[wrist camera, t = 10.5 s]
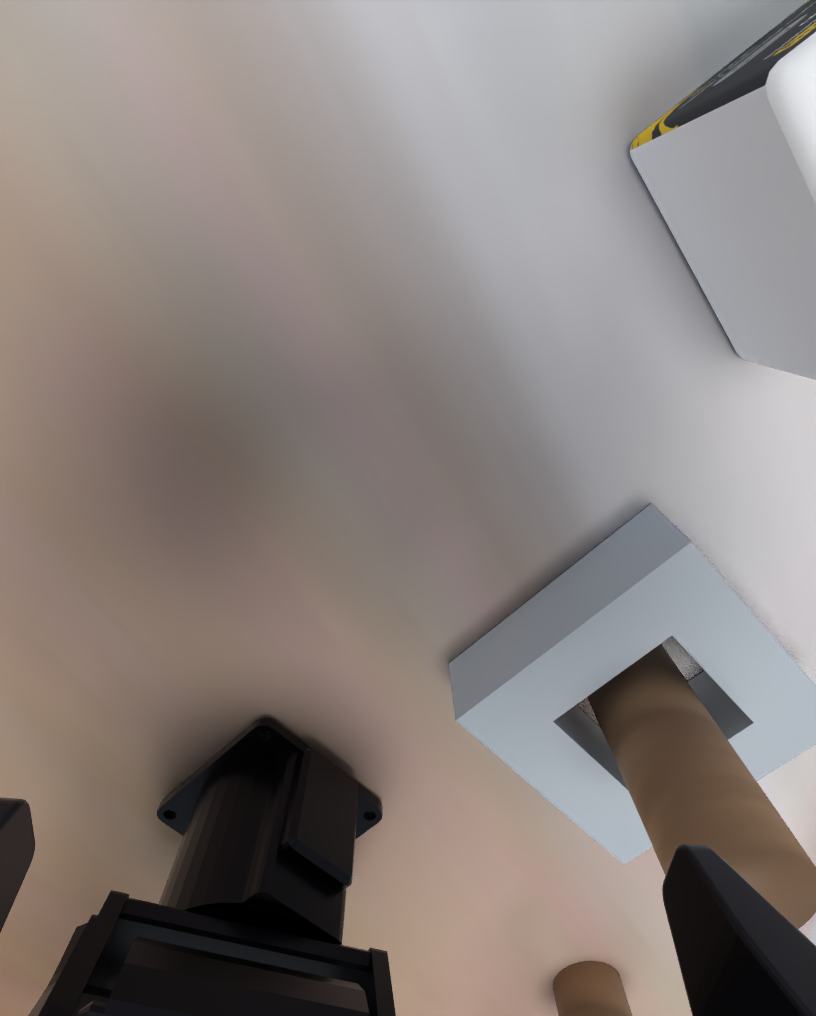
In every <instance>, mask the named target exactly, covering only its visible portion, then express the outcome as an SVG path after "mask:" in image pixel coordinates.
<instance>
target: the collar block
mask: <svg viewBox="0 0 816 1016" xmlns="http://www.w3.org/2000/svg"><path fill="white" fill-rule="evenodd" d="M671 636H673V637H674V638H675V639H676V640H677V641H678V642H679V643H680V644H681V646H682V647H683V648H684V649H685V650H686V651H687V652H688V653H689V654H690V655H691V656H692V657H693V658H694V659H695V660H696V662H697V663H698V664H699V665H700V666H701V667H702V668H703V669H704V671H703V672H701V673H700V674H698V675H697V676H695V677H694V678H693V679H691V680H690V681H688V683H689V685H690V686H691V688H692V689H693V691H694V692H695V694H696V695H697V696H698V698H699V699H700V701H701V702H702V704H703V705H704V707H705V708H706V709H707V711H708V712H709V714H710V715H711V717H712V718H713V720H714V721H715V722H716V724H717V725H718V727H719V728H720V730H721V731H722V732H723V734H724V735H725V737H726V738H727V740H728V741H729V743H730V744H731V745H732V747H733V748H734V750H735V751H736V753H737V754H738V756H739V757H740V758H741V760H742V761H743V763H744V764H745V766H746V767H747V769H748V770H749V771H750V773H751V774H752V776H753V777H754V779H755V780H756V781H758V780H760V779H761V778H763V777H764V776H766V775H768V774H769V773H771V772H772V771H774V770H776V769H777V768H779V767H780V766H782V765H784V764H785V763H787V762H788V761H790V760H792V759H793V758H795V757H796V756H798V755H800V754H801V753H803V752H804V751H806V750H808V749H809V748H811V747H812V746H814V745H816V685H815V684H814V683H813V681H812V680H811V679H810V678H809V677H808V676H807V674H806V673H805V672H804V671H803V670H802V669H801V667H800V666H799V665H798V664H797V663H796V662H795V661H794V659H793V658H792V657H791V656H790V655H789V654H788V652H787V651H786V650H785V649H784V648H783V647H782V645H781V644H780V643H779V642H778V641H777V640H776V638H775V637H774V636H773V635H772V634H771V633H770V632H769V630H768V629H767V628H766V627H765V626H764V625H763V623H762V622H761V621H760V620H759V619H758V618H757V616H756V615H755V614H754V613H753V612H752V611H751V609H750V608H749V607H748V606H747V605H746V604H745V602H744V601H743V600H742V599H741V598H740V597H739V596H738V594H737V593H736V592H735V591H734V590H733V589H732V587H731V586H730V585H729V584H728V583H727V582H726V580H725V579H724V578H723V577H722V576H721V575H720V573H719V572H718V571H717V570H716V569H715V568H714V567H713V565H712V564H711V563H710V562H709V561H708V560H707V558H706V557H705V556H704V555H703V554H702V553H701V551H700V550H699V549H698V548H697V547H696V546H695V544H694V543H693V542H692V541H691V540H690V539H689V538H688V537H687V536H686V535H685V534H683V533H682V532H681V531H680V530H679V529H678V528H677V527H676V526H675V525H674V524H673V523H672V522H671V521H670V520H669V519H668V518H667V517H665V516H664V515H663V514H662V513H661V512H660V511H659V510H658V509H657V508H656V507H655V506H654V505H653V504H652V503H651V504H650V505H648V506H647V507H646V508H645V509H643V510H642V511H641V512H640V513H638V514H637V515H636V516H635V517H633V518H632V519H631V520H630V521H628V522H627V523H626V524H624V525H623V526H622V527H621V528H619V529H618V530H617V531H616V532H614V533H613V534H612V535H611V536H609V537H608V538H607V539H606V540H604V541H603V542H602V543H600V544H599V545H598V546H597V547H595V548H594V549H593V550H592V551H590V552H589V553H588V554H587V555H585V556H584V557H583V558H582V559H580V560H579V561H578V562H576V563H575V564H574V565H573V566H571V567H570V568H569V569H568V570H566V571H565V572H564V573H563V574H561V575H560V576H559V577H558V578H556V579H555V580H554V581H552V582H551V583H550V584H549V585H547V586H546V587H545V588H544V589H542V590H541V591H540V592H539V593H537V594H536V595H535V596H534V597H532V598H531V599H530V600H528V601H527V602H526V603H525V604H523V605H522V606H521V607H520V608H518V609H517V610H516V611H515V612H513V613H512V614H511V615H510V616H508V617H507V618H506V619H504V620H503V621H502V622H501V623H499V624H498V625H497V626H496V627H494V628H493V629H492V630H491V631H489V632H488V633H487V634H486V635H484V636H483V637H482V638H480V639H479V640H478V641H477V642H475V643H474V644H473V645H472V646H470V647H469V648H468V649H467V650H465V651H464V652H463V653H462V654H460V655H459V656H458V657H456V658H455V659H454V660H453V661H451V662H450V663H449V664H448V665H449V672H450V680H451V688H452V696H453V704H454V711H455V719H456V721H457V722H458V723H459V724H460V725H461V726H462V727H464V728H465V729H466V730H467V731H468V732H469V733H471V734H472V735H473V736H474V737H475V738H476V739H478V740H479V741H480V742H481V743H482V744H483V745H485V746H486V747H487V748H488V749H489V750H490V751H492V752H493V753H494V754H495V755H496V756H497V757H499V758H500V759H501V760H502V761H503V762H504V763H506V764H507V765H508V766H509V767H510V768H511V769H513V770H514V771H515V772H516V773H517V774H518V775H520V776H521V777H522V778H523V779H524V780H525V781H527V782H528V783H529V784H530V785H531V786H532V787H534V788H535V789H536V790H537V791H538V792H539V793H541V794H542V795H543V796H544V797H545V798H546V799H548V800H549V801H550V802H551V803H552V804H553V805H555V806H556V807H557V808H558V809H559V810H560V811H562V812H563V813H564V814H565V815H566V816H567V817H569V818H570V819H571V820H572V821H573V822H574V823H576V824H577V825H578V826H579V827H580V828H581V829H583V830H584V831H585V832H586V833H587V834H588V835H590V836H591V837H592V838H593V839H594V840H595V841H597V842H598V843H599V844H600V845H601V846H602V847H604V848H605V849H606V850H607V851H608V852H609V853H611V854H612V855H613V856H614V857H615V858H616V859H618V860H619V861H620V862H621V863H622V864H623V865H624V864H626V863H627V862H629V861H630V860H632V859H634V858H635V857H637V856H638V855H640V854H642V853H643V852H645V851H646V850H648V849H650V848H651V847H653V846H652V843H651V841H650V839H649V836H648V834H647V832H646V830H645V827H644V825H643V823H642V820H641V818H640V816H639V814H638V811H637V809H636V807H635V804H634V802H633V800H632V798H631V795H630V793H629V791H628V789H627V786H626V784H625V782H624V779H623V777H622V775H621V773H620V770H619V768H618V766H617V763H616V761H615V759H614V757H613V754H612V752H611V750H610V747H609V745H608V743H607V741H606V738H605V736H604V734H603V732H602V729H601V728H600V727H599V726H598V725H597V724H596V723H595V722H594V721H593V720H592V719H591V718H590V717H588V716H587V715H586V714H585V713H584V712H583V711H582V710H581V709H580V708H579V707H578V706H577V705H576V704H578V703H579V702H581V701H582V700H583V699H585V698H586V697H587V696H589V695H590V694H592V693H593V692H594V691H596V690H597V689H599V688H600V687H601V686H603V685H604V684H605V683H607V682H608V681H610V680H611V679H612V678H614V677H615V676H617V675H618V674H619V673H621V672H622V671H624V670H625V669H626V668H628V667H629V666H630V665H632V664H633V663H635V662H636V661H637V660H639V659H640V658H642V657H643V656H644V655H646V654H647V653H648V652H650V651H651V650H653V649H654V648H655V647H657V646H658V645H660V644H661V643H662V642H664V641H665V640H667V639H668V638H669V637H671Z"/></svg>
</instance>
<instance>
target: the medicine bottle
mask: <svg viewBox="0 0 816 1016" xmlns="http://www.w3.org/2000/svg"><path fill="white" fill-rule="evenodd" d="M630 154H631V158H632V160H633V162H634V164H635V166H636V167H637V169H638V171H639V173H640V175H641V177H642V178H643V180H644V182H645V184H646V186H647V188H648V190H649V191H650V193H651V195H652V197H653V199H654V201H655V202H656V204H657V206H658V208H659V210H660V212H661V214H662V215H663V217H664V219H665V221H666V223H667V225H668V227H669V228H670V230H671V232H672V234H673V236H674V238H675V239H676V241H677V243H678V245H679V247H680V249H681V251H682V252H683V254H684V256H685V258H686V260H687V262H688V264H689V265H690V267H691V269H692V271H693V273H694V275H695V276H696V278H697V280H698V282H699V284H700V286H701V288H702V289H703V291H704V293H705V295H706V297H707V299H708V301H709V302H710V304H711V306H712V308H713V310H714V312H715V313H716V315H717V317H718V319H719V321H720V323H721V325H722V326H723V328H724V330H725V332H726V334H727V336H728V337H729V339H730V341H731V343H732V345H733V347H734V349H735V350H736V352H737V354H738V355H739V356H740V357H741V358H742V359H743V360H746V361H750V362H754V363H757V364H761V365H764V366H768V367H772V368H775V369H779V370H782V371H786V372H790V373H793V374H797V375H800V376H804V377H808V378H811V379H815V380H816V0H809V1H808V2H806V3H805V4H804V5H802V6H801V7H800V8H799V9H797V10H796V11H795V12H794V13H792V14H791V15H790V16H789V17H787V18H786V19H785V20H783V21H782V22H781V23H780V24H778V25H777V26H776V27H775V28H773V29H772V30H771V31H770V32H768V33H767V34H766V35H764V36H763V37H762V38H761V39H759V40H758V41H757V42H756V43H754V44H753V45H752V46H750V47H749V48H748V49H747V50H745V51H744V52H743V53H742V54H740V55H739V56H738V57H737V58H735V59H734V60H733V61H731V62H730V63H729V64H728V65H726V66H725V67H724V68H723V69H721V70H720V71H719V72H717V73H716V74H715V75H714V76H712V77H711V78H710V79H709V80H707V81H706V82H705V83H704V84H702V85H701V86H700V87H698V88H697V89H696V90H695V91H693V92H692V93H691V94H690V95H688V96H687V97H686V98H685V99H683V100H682V101H681V102H679V103H678V104H677V105H676V106H674V107H673V108H672V109H671V110H669V111H668V112H667V113H665V114H664V115H663V116H662V117H660V118H659V119H658V120H657V121H655V122H654V123H653V124H652V125H650V126H649V127H648V128H646V129H645V130H644V131H643V132H641V133H640V134H639V135H638V136H637V137H636V138H635V139H634V141H633V142H632V144H631V149H630Z"/></svg>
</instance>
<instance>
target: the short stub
mask: <svg viewBox="0 0 816 1016" xmlns="http://www.w3.org/2000/svg"><path fill="white" fill-rule="evenodd" d="M553 990H554V995H555V1000H556V1004H557V1009H558V1013H559V1016H632V1013H631V1010H630V1007H629V1004H628V1000H627V997H626V994H625V991H624V988H623V985H622V981H621V978H620V975H619V973H618V971H617V970H616V969H615V968H614V967H612V966H611V965H608V964H606V963H603V962H598V961H584V962H579V963H575V964H572V965H570V966H568V967H566V968H564V969H563V970H562V971H560V972H559V973H558V974H557V976H556V977H555V979H554V982H553Z"/></svg>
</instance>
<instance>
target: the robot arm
mask: <svg viewBox="0 0 816 1016" xmlns="http://www.w3.org/2000/svg"><path fill="white" fill-rule="evenodd" d="M261 731H267V732H269V734H264V733H261ZM171 810H172V811H171ZM382 810H383V807H382V803H381V802H380V801H379V800H378V799H376V798H375V797H374V796H372V795H371V794H370V793H368V792H367V791H366V790H365V789H363V788H362V787H361V786H359V785H358V784H357V783H356V782H354V781H353V780H352V779H351V778H349V777H348V776H347V775H345V774H344V773H343V772H341V771H340V770H339V769H337V768H336V767H335V766H334V765H332V764H331V763H330V762H328V761H327V760H326V759H324V758H323V757H322V756H320V755H319V754H318V753H317V752H315V751H314V750H312V749H311V748H310V747H308V746H307V745H306V744H304V743H303V742H302V741H300V740H299V739H298V738H297V737H295V736H294V735H293V734H291V733H290V732H289V731H287V730H286V729H285V728H283V727H282V726H281V725H280V724H278V723H277V722H276V721H274V720H272V719H269V718H261V719H259V720H257V721H255V722H254V723H253V724H252V725H251V726H249V727H248V728H247V729H246V730H245V731H244V732H242V733H241V734H240V735H239V736H238V737H236V738H235V739H234V740H233V741H232V742H231V743H229V744H228V745H227V746H226V747H225V748H224V749H222V750H221V751H220V752H219V753H218V754H216V755H215V756H214V757H213V758H212V759H211V760H209V761H208V762H207V763H206V764H205V765H203V766H202V767H201V768H200V769H199V770H198V771H196V772H195V773H194V774H193V775H192V776H190V777H189V778H188V779H187V780H186V781H185V782H183V783H182V784H181V785H180V786H179V787H178V788H176V789H175V790H174V791H173V792H172V793H170V794H169V795H168V796H167V797H166V798H165V799H163V801H162V802H161V804H160V806H159V808H158V811H157V816H158V818H159V819H160V820H161V821H162V822H163V823H165V824H166V825H168V826H169V827H171V828H172V829H174V830H176V831H177V832H179V833H180V834H182V835H183V836H184V837H183V840H182V843H181V845H180V848H179V851H178V853H177V856H176V859H175V861H174V864H173V867H172V869H171V872H170V875H169V878H168V880H167V883H166V886H165V888H164V891H163V894H162V896H161V899H160V902H159V904H154V903H150V902H145V901H141V900H136V899H132V898H129V894H126V893H121V892H117V891H112V890H111V892H110V894H109V895H108V897H107V899H106V901H105V903H104V905H103V907H102V909H101V911H100V913H99V915H92V916H91V918H90V920H89V922H88V923H86V924H84V925H81V926H78V927H77V928H76V930H75V932H74V934H73V936H72V938H71V940H70V942H69V944H68V946H67V948H66V951H65V953H64V955H63V957H62V959H61V961H60V963H59V965H58V967H57V969H56V971H55V973H54V975H53V977H52V979H51V981H50V982H49V984H48V986H47V988H46V989H45V991H44V993H43V994H42V996H41V997H40V999H39V1000H38V1002H37V1003H36V1005H35V1006H34V1008H33V1009H32V1011H31V1012H30V1014H29V1015H28V1016H396V1015H395V1007H394V1000H393V992H392V985H391V977H390V970H389V962H388V955H387V951H383V950H378V949H374V948H370V949H369V950H368V951H367V950H363V949H358V948H354V947H349V946H345V945H342V937H343V925H344V912H345V900H346V888H347V887H348V886H350V885H351V883H352V876H353V862H354V848H355V839H356V838H358V837H359V836H361V835H362V834H363V833H365V832H366V831H367V830H369V829H370V828H371V827H373V826H374V825H375V824H377V823H378V822H379V821H380V820H381V819H382ZM367 811H373V812H367ZM34 850H35V839H34V832H33V825H32V819H31V812H30V807H29V804H28V803H27V801H26V800H23V799H13V798H0V932H1V930H2V928H3V925H4V923H5V921H6V919H7V916H8V914H9V912H10V909H11V907H12V905H13V903H14V900H15V898H16V896H17V893H18V891H19V889H20V887H21V884H22V882H23V880H24V878H25V875H26V873H27V871H28V868H29V866H30V864H31V861H32V858H33V855H34ZM662 891H663V901H664V906H665V910H666V914H667V918H668V922H669V925H670V929H671V933H672V937H673V941H674V945H675V949H676V953H677V957H678V961H679V965H680V969H681V973H682V977H683V981H684V985H685V989H686V993H687V996H688V1000H689V1004H690V1008H691V1012H692V1015H693V1016H816V946H815V945H814V944H813V943H812V942H811V941H810V940H809V939H808V938H807V937H806V936H805V935H804V934H802V933H801V932H800V931H799V930H798V929H797V928H796V927H795V926H794V925H793V924H792V923H791V922H790V921H789V920H788V919H786V918H785V917H784V916H783V915H782V914H781V913H780V912H779V911H778V910H777V909H776V908H775V907H774V906H773V905H772V904H771V903H769V902H768V901H767V900H766V899H765V898H764V897H763V896H762V895H761V894H760V893H759V892H758V891H757V890H756V889H755V888H753V887H752V886H751V885H750V884H749V883H748V882H747V881H746V880H745V879H744V878H743V877H742V876H741V875H740V874H739V873H737V872H736V871H735V870H734V869H733V868H732V867H731V866H730V865H729V864H728V863H727V862H726V861H725V860H724V859H723V858H721V857H720V856H719V855H718V854H717V853H716V852H715V851H714V850H713V849H711V848H710V847H708V846H705V845H694V844H680V845H679V846H678V847H677V848H676V850H675V852H674V855H673V857H672V860H671V863H670V866H669V868H668V871H667V874H666V876H665V879H664V882H663V889H662Z"/></svg>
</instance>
